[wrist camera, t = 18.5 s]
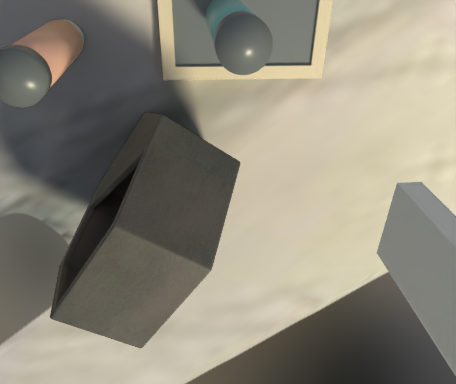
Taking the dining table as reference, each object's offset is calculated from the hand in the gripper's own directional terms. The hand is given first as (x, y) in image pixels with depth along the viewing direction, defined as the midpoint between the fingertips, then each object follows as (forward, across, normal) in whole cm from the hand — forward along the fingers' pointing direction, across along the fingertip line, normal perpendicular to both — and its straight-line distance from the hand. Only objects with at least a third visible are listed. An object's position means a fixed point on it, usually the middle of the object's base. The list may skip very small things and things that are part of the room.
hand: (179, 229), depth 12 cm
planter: (+29, -4, -14) cm, 32 cm away
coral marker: (+29, -10, 0) cm, 30 cm away
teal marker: (+28, +4, +2) cm, 28 cm away
